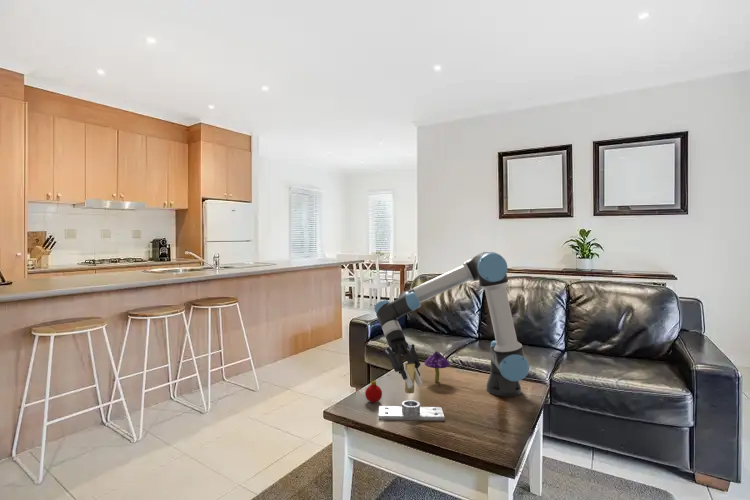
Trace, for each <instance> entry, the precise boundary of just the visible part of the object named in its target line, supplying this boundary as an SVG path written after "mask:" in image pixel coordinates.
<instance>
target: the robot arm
mask: <svg viewBox="0 0 750 500" xmlns="http://www.w3.org/2000/svg"><path fill="white" fill-rule="evenodd" d="M507 273H508V263H507V261H506V259H505V258H504V257H503V256H502V255H501V254H499V253H497V252H492V251H491V252H488V251H486V252H485V251H483V252H480V253H478V254H476V255H475V256H473V257H471V258H470V259H468V260H466V261H464V262H463V263H462V264H461V266H458V267H456V268H454V269H452V270H449V271H448V272H445V273H443V274H440V275H439V276H436V277H434V278H432V279H429V280H427V281H424V283H421V284H419V285H416V286H414V287H412V288H410V289H408V290H403V291H402V292H401V293H399V294H398V297H397V299H395V300H394V301H391V302H390V301H389V300H388V299H387V300H386V299H383V300H380V301H378V302H377V303H376V304H375V305H374V311H375V314H376V315H375V316H376V318H377V321H378V323H379V325H380V328H381V329H382V331H383V334H384V337H385V340H386V342H387V344H388V346H387V347H386V349H385V350H384V353H385V354H386V355H387V356H388V359H389V361H390V364H391V365H392V368H393V370H394V372H395V373H398V374H399V375H401V378H402V379H403V381H404V382H405V381H406V383H407V386H408V388H411V387H412V385H413V383H412V381H411V379H410V376H409V374H408V371H407V369H406V370H405V366H404V362H403V361H404V360H403V357H404V359H405V360H406V363H414V364H415V380H414V382H415V383H416V386H417V387H421V385H422V384H423V381H422V379H421V377H420V376H421V374H420V371H419V368H420V366H421V363H420V358H419V357H418V354H417V352H416V350H415V344H413V343H412V344H409V342H407V340H406V336H405V334H404V332H403V330H402V327H401V325H400V323H399V321H398V319H400V318H401V317H404V316H406V315H407V314H410V313H411V312H414V311H416V310H417V309H420V308H421V306H422V304H421V303H423V302H424V301H427V300H429V299H431V298H434V297H436V296H439V295H440V294H443V293H445V292H447V291H450V290H452V289H454V288H455V287H458V286H461V285H463V284H466V283H467V282H470V281H471V282H474V281H478V282H479V286H480V288H481V289H483V290H484V293H485V296H486V297H485V298H486V301H487V307H488V311H489V315H490V319H491V320H490V321H491V325H492V328H493V333H494V339H495V340H492V341H491V342H490V348H489V349H490V374H489V376H488V379H487V382H486V386H485V387H486V391H487V392H488V393H490V394H492V395H495V396H498V397H504V398H510V397H511V398H512V397H513V398H515V397H517V396H520V395H521V394H522V387H521V383H520V381H522V380H523V379H525V378H526V377H527V376H528V374H529V372H530V364H529V362H528V360H527V358H526V357H525V353H524V348H523V344H522V343H520V342H519V341H518V338H517V333H516V329H515V325H514V321H513V320H514V319H513V315H512V310H511V307H510V302H509V301H510V300H509V297H508V292H507V287H506V286H507V284H508V283H509V278H508V274H507ZM402 356H403V357H402Z"/></svg>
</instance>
